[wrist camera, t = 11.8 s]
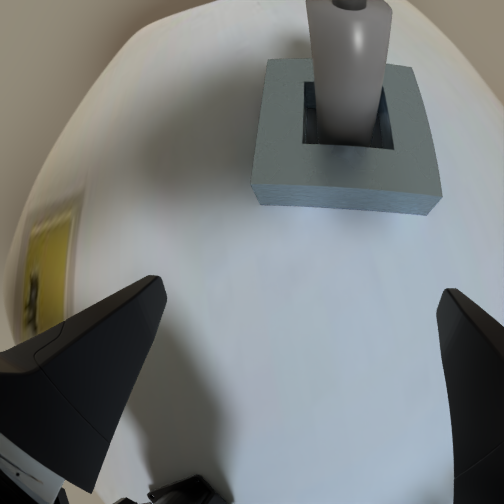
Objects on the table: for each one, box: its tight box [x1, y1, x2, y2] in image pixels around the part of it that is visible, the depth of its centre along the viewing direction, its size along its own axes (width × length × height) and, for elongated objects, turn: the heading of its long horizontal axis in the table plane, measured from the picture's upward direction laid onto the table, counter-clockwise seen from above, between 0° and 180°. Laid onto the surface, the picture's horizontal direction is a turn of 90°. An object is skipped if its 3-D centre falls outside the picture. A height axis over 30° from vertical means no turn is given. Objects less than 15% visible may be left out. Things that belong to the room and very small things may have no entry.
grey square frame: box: [250, 59, 443, 215], centre depth 21 cm, size 13×13×4 cm
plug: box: [306, 0, 392, 148], centre depth 15 cm, size 4×4×15 cm
